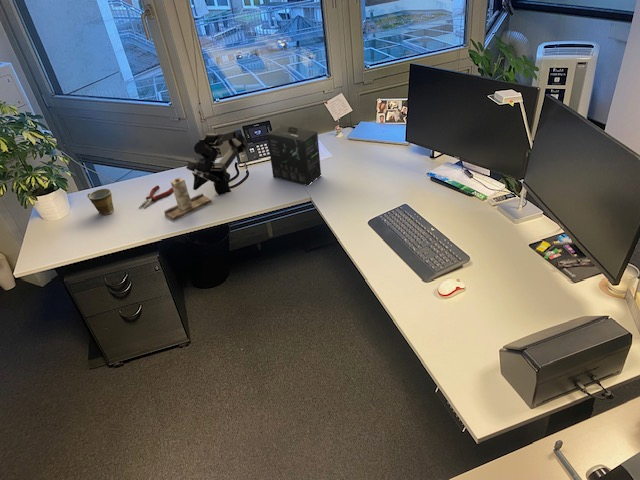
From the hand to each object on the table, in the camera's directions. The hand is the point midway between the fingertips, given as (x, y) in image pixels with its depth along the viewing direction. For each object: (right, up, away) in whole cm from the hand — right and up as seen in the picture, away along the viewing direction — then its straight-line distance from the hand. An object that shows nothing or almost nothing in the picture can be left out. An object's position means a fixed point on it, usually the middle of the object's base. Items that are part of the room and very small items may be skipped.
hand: (194, 189), depth 216 cm
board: (-3, -9, +2) cm, 10 cm away
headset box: (+47, +8, +19) cm, 52 cm away
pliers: (-24, -3, +15) cm, 29 cm away
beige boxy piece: (-4, -8, 0) cm, 9 cm away
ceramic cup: (-45, -10, +8) cm, 47 cm away
